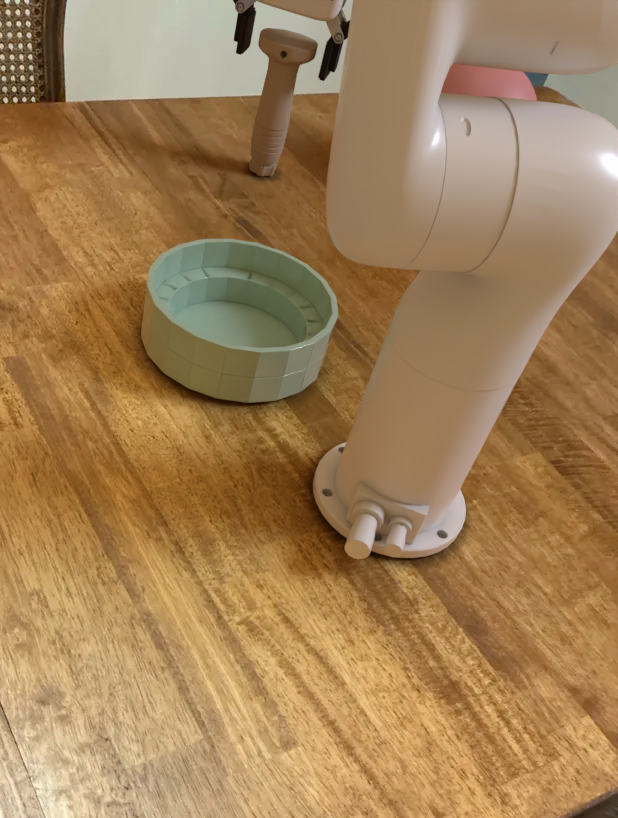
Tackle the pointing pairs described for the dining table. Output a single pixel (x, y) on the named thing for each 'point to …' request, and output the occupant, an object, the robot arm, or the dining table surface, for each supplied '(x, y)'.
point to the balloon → (488, 82)
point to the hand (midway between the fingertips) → (283, 63)
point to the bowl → (237, 319)
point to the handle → (277, 95)
